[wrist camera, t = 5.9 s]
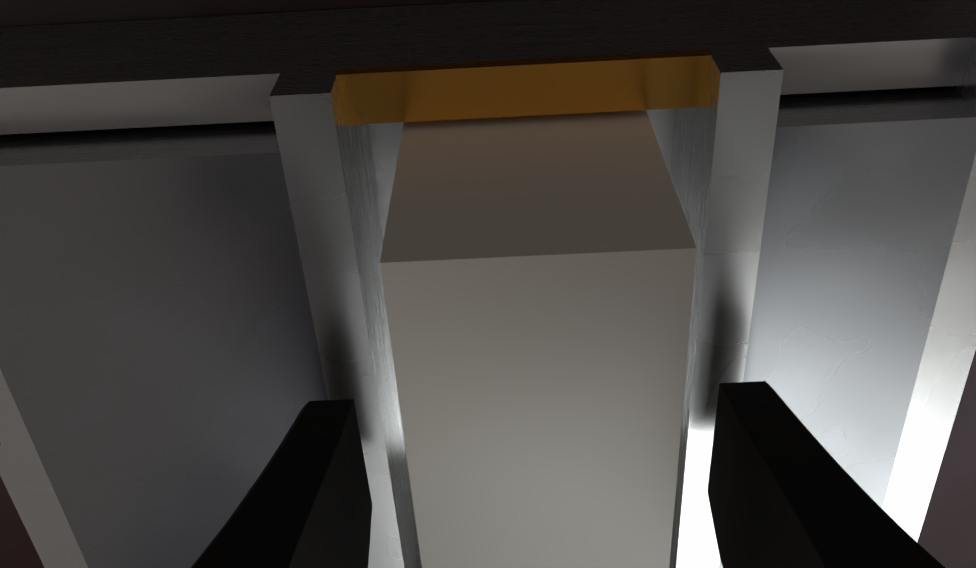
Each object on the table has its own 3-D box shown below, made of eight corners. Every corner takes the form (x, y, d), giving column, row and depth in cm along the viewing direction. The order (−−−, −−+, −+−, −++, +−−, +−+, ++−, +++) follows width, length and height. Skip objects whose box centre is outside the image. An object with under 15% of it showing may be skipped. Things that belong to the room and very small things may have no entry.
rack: (835, 486, 18) (894, 620, 16) (139, 514, 19) (84, 650, 16) (948, -25, 13) (1065, 53, 10) (-45, 29, 13) (-173, 117, 11)
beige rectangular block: (615, 432, 17) (659, 685, 13) (450, 439, 17) (439, 693, 13) (627, 59, 13) (696, 247, 9) (412, 70, 13) (379, 262, 9)
